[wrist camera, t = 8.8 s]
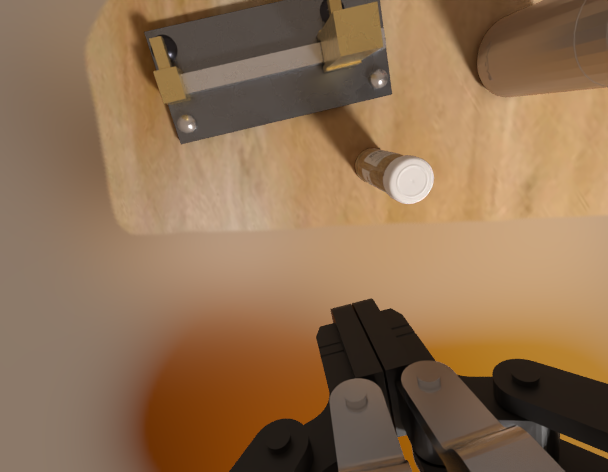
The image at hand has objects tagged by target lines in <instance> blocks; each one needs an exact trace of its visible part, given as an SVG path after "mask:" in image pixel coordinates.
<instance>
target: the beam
mask: <svg viewBox="0 0 608 472" xmlns="http://www.w3.org/2000/svg"><path fill="white" fill-rule="evenodd" d="M381 33H382V40H383V47H382V48H381V49H379V50H377V51H380V50H383V49H385V48H386V42H385V34H384V28H381ZM149 40H150V43H151V46H152V49H153V53H154V56H155V59H156V62H157V65H158V68H159V70H157V71H153V73H154V76H155V79H156V82H157V85H158V88H159V91H160V94H161V97H162V100H163V103H164V104H168V105H173V104H177V103H181V102H186V101H190V100H191V97H190V94H195V93H199V92H203V91H208V90H212V89H216V88H221V87H225V86H229V85H234V84H238V83H242V82H246V81H251V80H255V79H259V78H264V77H268V76H272V75H277V74H281V73H285V72H290V71H294V70H298V69H302V68H307V67H311V66H315V65H320V64H324V57H323V52H322V46H321V42H319V43H315V44H310V45H306V46H302V47H297V48H293V49H289V50H284V51H280V52H276V53H271V54H267V55H262V56H258V57H254V58H249V59H245V60H241V61H236V62H232V63H228V64H223V65H219V66H215V67H210V68H206V69H202V70H197V71H193V72H189V73H184V74H183V71H182V70H181V69H179V68H178V67H176V66H175V67H172V64H171V61H170V58H169V55H168V52H167V47H166V45H165V42H164V39H163V38H162V37H161V36H158V37H154V38H149Z"/></svg>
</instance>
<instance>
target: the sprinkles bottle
mask: <svg viewBox="0 0 608 472" xmlns="http://www.w3.org/2000/svg"><path fill="white" fill-rule="evenodd" d="M355 170H356V173H357V175H358V177H359V178H360V179H361V180H363V181H364V182H367V183H369V184H371V185H373V186H375V187H377V188H378V189H380V190H382V191H384V192H386V193H387V194H388V195H389V196H390V197H391V198H393V199H395V200H397V201H399V202H401V203H404V204H413V203H416V202H419V201H421V200H422V199H423V198H425V197H426V196H427V195H428V193H429V192H430V190H431V188H432V186H433V181H434V175H433V171H432V168H431V166H430V165H429V164H428V163H427V162H426V161H425V160H423V159H421V158H418V157H415V156H410V155H405V156H403V155H401V154H397V153H392V152H388V151H383V150H380V149H377V148H371V149H366V150H365V151H363V152H362V153H361V154H360V155H359V156H358V158H357V160H356V162H355Z"/></svg>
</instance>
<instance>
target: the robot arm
mask: <svg viewBox="0 0 608 472" xmlns="http://www.w3.org/2000/svg"><path fill="white" fill-rule="evenodd" d="M477 68H478V74H479V77H480V79H481V82H482V83H483V85H484V86H485V88H487V89H488V90H489V91H490V92H491V93H493V94H495V95H497V96H501V97H515V96H525V95H537V94H546V93H556V92H566V91H575V90H585V89H595V88H605V87H608V0H542V1H540V2H538V3H536V4H533V5H531V6H528V7H526V8H524V9H521V10H519V11H517V12H515V13H512V14H510V15H508V16H506V17H504V18H502V19H500V20H499V21H497V22H496V23H495V24H494V25H493V26H492V27H491V28H490V29H489V30H488V31H487V33H486V35H485V36H484V38H483V40H482V42H481V45H480V47H479V51H478V56H477ZM331 314H332V319H333V324H329V325H325V326H321V327H320V328H319V331H318V334H317V336H316V339H317V343H318V346H319V351H320V355H321V359H322V363H323V367H324V371H325V375H326V380H327V384H328V388H329V392H330V396H329V401H328V404H327V406H326V407H325V409H324V410H323V412H322V413H321V414H320V415H318V416H317V417H316V418H315V419H313V420H311V421H310V422H308V423H306V424H305V425H303V424H301V423H300V422H298V421H296V420H293V419H280V420H276V421H274V422H271V423H270V424H268V425H266V426H265V427H264V428H263V429H262V430H261V431H260V432H259V433H258V434H257V435H256V437H255V438H254V439H253V441H252V442H251V443H250V445H249V446H248V447H247V449H246V450H245V451H244V453H243V454H242V455H241V457H240V458H239V459H238V461H237V462H236V463H235V465H234V466H233V467H232V469H231V470H230V471H229V472H412V470H411V468H410V465H409V462H408V461H407V460H405V459H404V456H403V453H402V450H401V447H400V444H399V441H398V438H397V437H400V436H404V435H407V436H408V438H409V440H410V442H411V444H412V450H413V456H414V460H415V462H416V465H417V467H418V469H419V470H420V472H608V459H606V458H604V457H602V456H599V455H597V454H595V453H592V452H590V451H587V450H585V449H583V448H580V447H578V446H576V445H573V444H571V443H569V442H566V441H564V440H561V439H560V433H561V434H564V435H566V436H568V437H571V438H573V439H576V440H578V441H580V442H583V443H585V444H588V445H590V446H593V447H595V448H597V449H600V450H603V451H605V452H607V453H608V384H606V383H603V382H599V381H596V380H593V379H590V378H587V377H583V376H580V375H576V374H573V373H570V372H567V371H563V370H560V369H557V368H554V367H550V366H547V365H544V364H540V363H537V362H534V361H530V360H524V359H510V360H506V361H503V362H501V363H499V364H498V365H496V367H495V368H494V370H493V377H466V376H460V375H457V374H456V373H455V372H454V371H453V370H452V369H451V368H450V367H448V366H447V365H445V364H442V363H440V362H436V361H435V359H434V358H433V357H432V355H431V354H430V353H429V351H428V350H427V348H426V347H425V346H424V344H423V343H422V341H421V340H420V339H419V337H418V336H417V334H415V332H414V331H413V329H412V327H411V326H409V323H408V322H407V321H406V319H405V318H404V317H403V315H402V314H400V313H398V312H396V311H395V310H393V309H391V308H390V309H387V310H383V311H380V310H379V308H378V307H377V305H376V304H375V302H374V300H373V299H367V300H363V301H360V302H356V303H352V305H351V304H348V305H344V306H341V307H336V308H333V309H331Z"/></svg>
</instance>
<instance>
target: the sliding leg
mask: <svg viewBox="0 0 608 472" xmlns="http://www.w3.org/2000/svg"><path fill="white" fill-rule="evenodd" d="M327 4H328V9H327V13H328V14H329V16H330V17H329V19H328V20H327V22H326V23H325V25H324V27H323V28H322V30H319V32H318V34H317V38H318V41H321V46H322V52H323V57H324V63H325V65H324V66H323V70H324V73H325V72H330V71H334V70H338V69H343V68H347V67H351V66H355V65H358V64H360V63H362V62H361V60H363V59H365V58H366V57H368V56H369V55H371V54H373V53H374V52H376V51H377V50H379V49H381V48H382V47H383V40H382V33H381V25H380V18H379V10H378V3H377V2H373V3H368V4H364V5H359V6H355V7H351V8H346V9H342V5H341V0H327Z"/></svg>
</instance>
